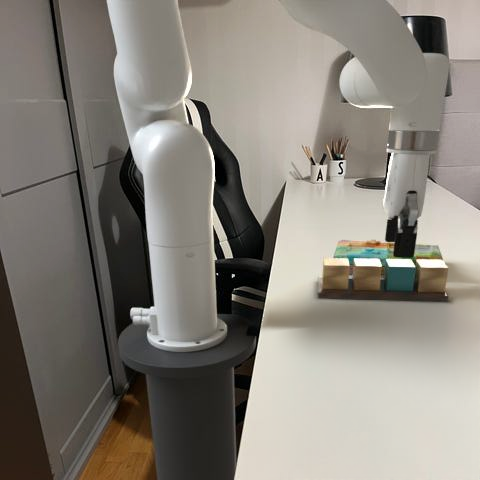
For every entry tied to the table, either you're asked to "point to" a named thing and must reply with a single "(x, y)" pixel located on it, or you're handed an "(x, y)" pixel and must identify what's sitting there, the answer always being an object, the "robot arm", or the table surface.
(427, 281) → the maple block
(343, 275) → the maple block
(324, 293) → the walnut board
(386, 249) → the puzzle game
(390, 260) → the teal block
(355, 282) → the maple block
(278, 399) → the table surface
